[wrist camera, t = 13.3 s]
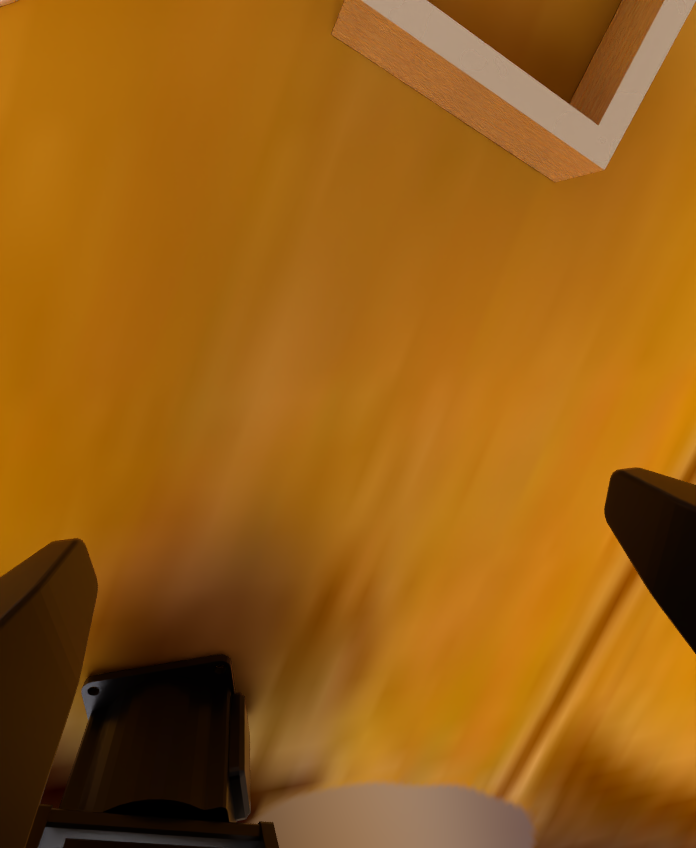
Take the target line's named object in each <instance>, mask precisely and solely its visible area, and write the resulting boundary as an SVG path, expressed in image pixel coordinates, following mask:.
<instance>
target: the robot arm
mask: <svg viewBox="0 0 696 848" xmlns="http://www.w3.org/2000/svg"><path fill="white" fill-rule="evenodd" d="M604 512H605V518H606V521H607V523H608V525H609V527H610V528H611V530H612V531H613V533H614V535H615V536H616V538H617V540H618V541H619V543H620V545H621V546H622V548H623V550H624V551H625V553H626V554H627V556H628V558H629V559H630V561H631V563H632V564H633V566H634V568H635V569H636V571H637V572H638V574H639V576H640V577H641V579H642V581H643V582H644V584H645V585H646V587H647V589H648V590H649V592H650V593H651V595H652V596H653V597H654V599H655V600H656V602H657V603H658V604H659V606H660V607H661V609H662V610H663V611H664V613H665V614H666V615H667V617H668V618H669V619H670V621H671V622H672V623H673V625H674V626H675V627H676V629H677V630H678V631H679V633H680V634H681V635H682V637H683V638H684V639H685V641H686V642H687V643H688V645H689V646H690V647H691V648H692V650H693V651H694V652H695V654H696V485H694V484H691V483H688V482H684V481H681V480H678V479H675V478H671V477H668V476H665V475H662V474H658V473H655V472H652V471H649V470H645V469H642V468H627V469H620V470H616V471H615V472H613V474H612V475H611V478H610V482H609V487H608V492H607V498H606V503H605V508H604ZM97 591H98V583H97V578H96V574H95V571H94V568H93V565H92V563H91V560H90V557H89V554H88V551H87V548H86V545H85V543H84V542H83V541H82V540H80V539H78V538H75V539H67V540H59V541H54V542H51V543H50V544H48V545H47V546H45V547H44V548H42V549H41V550H39V551H38V552H37V553H35V554H34V555H32V556H31V557H29V558H28V559H26V560H25V561H23V562H22V563H21V564H19V565H18V566H16V567H15V568H13V569H12V570H10V571H9V572H7V573H6V574H5V575H3V576H2V577H0V848H279V846H278V842H277V838H276V833H275V828H274V824H273V822H259V823H258V824H249V823H236V821H239V820H244V819H246V818H247V816H248V815H249V813H250V734H249V726H248V718H247V710H246V702H245V696H244V695H243V694H241V693H235V686H234V678H233V671H232V663H231V660H230V658H229V657H228V656H226V655H214V656H208V657H202V658H196V659H190V660H184V661H178V662H172V663H166V664H160V665H154V666H148V667H142V668H136V669H130V670H123V671H117V672H111V673H105V674H99V675H94V676H91V677H89V678H87V679H86V681H85V682H84V685H83V687H82V697H83V701H84V705H85V709H86V712H87V716H88V723H87V726H86V729H85V732H84V735H83V738H82V741H81V744H80V747H79V750H78V753H77V756H76V759H75V762H74V765H73V768H72V771H71V774H70V777H69V780H68V783H67V786H66V789H65V792H64V795H63V797H62V800H61V803H60V806H59V809H53V808H52V807H53V805H43V804H40V801H41V798H42V795H43V791H44V788H45V785H46V782H47V779H48V776H49V773H50V770H51V767H52V764H53V761H54V758H55V755H56V752H57V749H58V746H59V742H60V739H61V736H62V733H63V730H64V727H65V724H66V721H67V718H68V715H69V712H70V709H71V706H72V703H73V700H74V696H75V693H76V689H77V686H78V682H79V678H80V674H81V670H82V665H83V660H84V655H85V651H86V646H87V641H88V636H89V631H90V626H91V621H92V616H93V612H94V607H95V602H96V597H97ZM218 665H223V666H224V667H221V668H218V667H216V666H218ZM92 687H98V689H94V688H92Z"/></svg>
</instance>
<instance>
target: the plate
mask: <svg viewBox="0 0 696 848" xmlns="http://www.w3.org/2000/svg"><path fill="white" fill-rule="evenodd" d="M15 1H18V0H0V7H1V6H4V5H7V4H10V3H13V2H15Z"/></svg>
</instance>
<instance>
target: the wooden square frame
mask: <svg viewBox="0 0 696 848" xmlns="http://www.w3.org/2000/svg"><path fill="white" fill-rule="evenodd" d="M695 2H696V0H622V2H621V4H620V6H619V8H618V10H617V12H616V13H615V15H614V17H613V19H612V21H611V23H610V25H609V27H608V29H607V31H606V33H605V35H604V37H603V39H602V41H601V43H600V45H599V47H598V49H597V51H596V52H595V54H594V56H593V58H592V60H591V62H590V64H589V66H588V68H587V70H586V72H585V74H584V76H583V78H582V80H581V82H580V84H579V86H578V88H577V90H576V91H575V93H574V95H573V97H572V99H571V101H570V103H569V104H568V103H567V102H566V101H564V100H563V99H561V98H560V97H559V96H557V95H556V94H555V93H553V92H552V91H550V90H549V89H548V88H546V87H545V86H544V85H542V84H541V83H540V82H538V81H537V80H535V79H534V78H533V77H531V76H530V75H529V74H527V73H526V72H524V71H523V70H522V69H520V68H519V67H518V66H516V65H515V64H513V63H512V62H511V61H509V60H508V59H507V58H505V57H504V56H503V55H501V54H500V53H498V52H497V51H496V50H494V49H493V48H492V47H490V46H489V45H487V44H486V43H485V42H483V41H482V40H481V39H479V38H478V37H476V36H475V35H474V34H472V33H471V32H470V31H468V30H467V29H466V28H464V27H463V26H461V25H460V24H459V23H457V22H456V21H455V20H453V19H452V18H450V17H449V16H448V15H446V14H445V13H444V12H442V11H441V10H439V9H438V8H437V7H435V6H434V5H433V4H431V3H430V2H429V1H427V0H344V3H343V6H342V8H341V11H340V13H339V16H338V18H337V21H336V24H335V26H334V29H333V31H332V35H333V36H335V37H336V38H338V39H339V40H341V41H342V42H344V43H345V44H347V45H348V46H350V47H351V48H353V49H354V50H356V51H357V52H359V53H360V54H362V55H363V56H365V57H366V58H368V59H369V60H371V61H372V62H374V63H376V64H377V65H379V66H380V67H382V68H383V69H385V70H386V71H388V72H389V73H391V74H392V75H394V76H395V77H397V78H398V79H400V80H401V81H403V82H404V83H406V84H407V85H409V86H410V87H412V88H413V89H415V90H416V91H418V92H419V93H421V94H422V95H424V96H425V97H427V98H428V99H430V100H431V101H433V102H434V103H436V104H437V105H439V106H440V107H442V108H443V109H445V110H447V111H448V112H450V113H451V114H453V115H454V116H456V117H457V118H459V119H460V120H462V121H463V122H465V123H466V124H468V125H469V126H471V127H472V128H474V129H475V130H477V131H478V132H480V133H481V134H483V135H484V136H486V137H487V138H489V139H490V140H492V141H493V142H495V143H496V144H498V145H499V146H501V147H502V148H504V149H505V150H507V151H508V152H510V153H511V154H513V155H514V156H516V157H517V158H519V159H521V160H522V161H524V162H525V163H527V164H528V165H530V166H531V167H533V168H534V169H536V170H537V171H539V172H540V173H542V174H543V175H545V176H546V177H548V178H549V179H551V180H552V181H554V182H558V181H562V180H566V179H570V178H574V177H578V176H582V175H586V174H591V173H595V172H599V171H603V170H605V168H606V166H607V165H608V163H609V161H610V159H611V157H612V155H613V153H614V152H615V150H616V148H617V146H618V144H619V142H620V140H621V139H622V137H623V135H624V133H625V131H626V129H627V127H628V126H629V124H630V122H631V120H632V118H633V116H634V115H635V113H636V111H637V109H638V107H639V105H640V103H641V102H642V100H643V98H644V96H645V94H646V92H647V90H648V89H649V87H650V85H651V83H652V81H653V79H654V78H655V76H656V74H657V72H658V70H659V68H660V66H661V65H662V63H663V61H664V59H665V57H666V55H667V53H668V52H669V50H670V48H671V46H672V44H673V42H674V40H675V39H676V37H677V35H678V33H679V31H680V29H681V28H682V26H683V24H684V22H685V20H686V18H687V16H688V15H689V13H690V11H691V9H692V7H693V5H694V3H695Z"/></svg>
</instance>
